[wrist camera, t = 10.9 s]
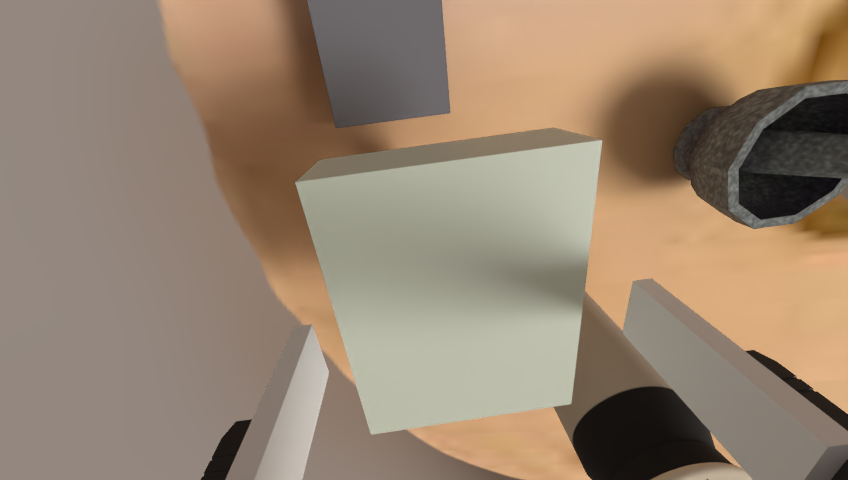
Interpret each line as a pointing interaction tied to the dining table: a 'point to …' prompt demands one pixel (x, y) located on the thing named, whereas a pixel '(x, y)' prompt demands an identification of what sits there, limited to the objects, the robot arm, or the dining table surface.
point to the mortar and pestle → (769, 153)
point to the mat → (382, 58)
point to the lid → (457, 271)
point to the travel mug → (633, 414)
